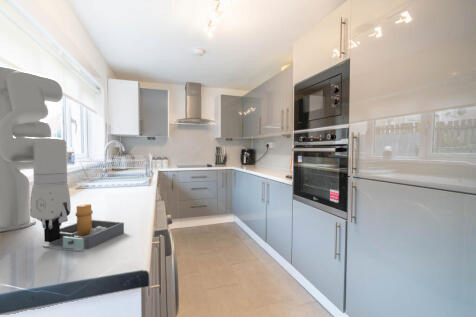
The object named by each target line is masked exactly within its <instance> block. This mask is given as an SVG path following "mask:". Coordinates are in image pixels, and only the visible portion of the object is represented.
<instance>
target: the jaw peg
mask: <svg viewBox="0 0 476 317" xmlns="http://www.w3.org/2000/svg"><path fill="white" fill-rule="evenodd" d="M93 212H94V211H93V210H92V204H91V203H89V204H88V203H86V204H85V203H84V204H79V205H76V212H75V217H76V223H77V236H82V237H84V236H87V235H89V234H90V230H92V220H93V219H92V217H93V216H92V215H93Z"/></svg>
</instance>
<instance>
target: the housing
mask: <svg viewBox="0 0 476 317" xmlns="http://www.w3.org/2000/svg"><path fill="white" fill-rule="evenodd" d="M124 228H125V223H124V222H120V221H109V220H98V219H92V230H90V234H89V235H87V236H84V237H82V236H77V222H76V223H72V224H69V225H65V226H63V227H62V226H61V227H60V239H58V240H55V241H52V242H48V243H49V244H44V245H42V247H43V248H48V249H49V248H50V249H56V250H61V251H63V250H64V251H70V252H77V253H84V252H86V249H92V248H95V247H96V246H98V245H101V244H103V243H105V242H107V241H110V240H112V239H113V238H116V237H118V236H120V235H122V234H124V233H125V229H124ZM64 236H67V237H75V238H83V239H84V249H82V250H80V249H72V248H65V247H63V237H64ZM53 244H54V245H53Z"/></svg>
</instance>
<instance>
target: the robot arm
mask: <svg viewBox="0 0 476 317" xmlns="http://www.w3.org/2000/svg"><path fill="white" fill-rule="evenodd" d="M63 96H64V91H63V86H62V85H61V83H60V82H59V81H58V80H57V79H55V78H51V77H48V76H46V75H41V74H37V73H33V72H30V71H24V70H21V69H17V68H14V67H13V68H12V67H9V66H4V65H0V233H1V232H9V231H16V230H19V229H24V228H28V227H30V226H33V225H34V224H35V225H36V222H37V220H38V221H39V222H41V225H42V228H43V235H44V236H43V237H44V243H49V242H52V241H55V240H58V239H60V228H61V227H62V223H66V222H68V220H69V219H68V218H69V217H68V216H69V215H71V210H72V209H71V196H70V190H69V188H70V187H69V185H68V150H67V149H68V147H67V145H68V144H67V141H66V140H65V139H63V138H60V137H52V129H51V127H50V124H49V123H48V122H47V121H45V120H44V119H45V118H46V117H48V115H49V109H48V105H47V102H52V103H58V102H60V101H61V100H62V99H63ZM46 101H47V102H46ZM21 170H22V171H23V170H33V184H32V188H31V189H30V179H29V178H28V176H27V175H25V173H23V172H21ZM30 190H31V192H30Z"/></svg>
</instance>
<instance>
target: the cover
mask: <svg viewBox="0 0 476 317" xmlns="http://www.w3.org/2000/svg"><path fill="white" fill-rule="evenodd" d="M62 247H65V248H72V249H80V250H82V249H84V250H85V248H84V239H83V238H75V237H67V236H64V237H63V245H62Z"/></svg>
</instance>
